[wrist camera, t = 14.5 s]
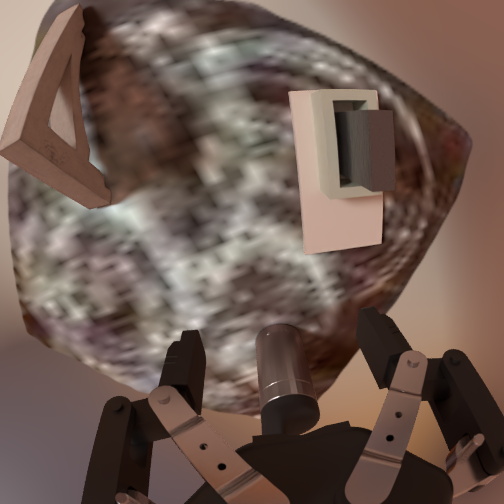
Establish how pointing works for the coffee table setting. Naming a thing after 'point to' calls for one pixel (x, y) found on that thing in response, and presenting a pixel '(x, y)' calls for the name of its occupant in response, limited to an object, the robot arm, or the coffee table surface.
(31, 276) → the coffee table surface
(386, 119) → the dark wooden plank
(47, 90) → the wall bracket
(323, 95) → the well board
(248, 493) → the robot arm
